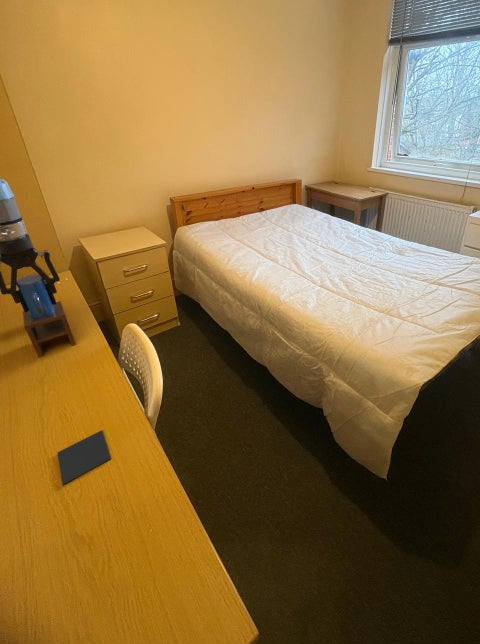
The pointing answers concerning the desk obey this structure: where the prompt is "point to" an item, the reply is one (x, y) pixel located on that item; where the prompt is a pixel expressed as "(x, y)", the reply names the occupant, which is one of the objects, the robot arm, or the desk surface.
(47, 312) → the blue oval cylinder
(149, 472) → the desk surface
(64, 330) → the shelf
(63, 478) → the mat
